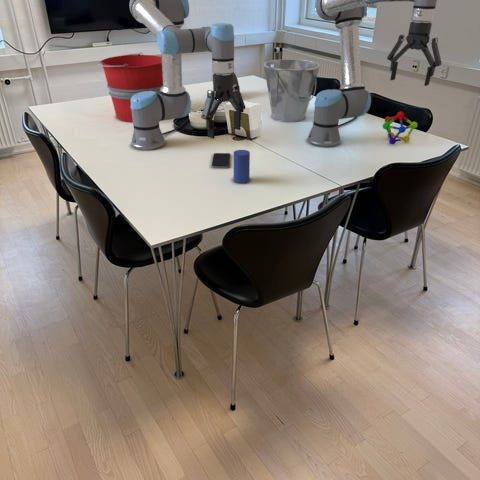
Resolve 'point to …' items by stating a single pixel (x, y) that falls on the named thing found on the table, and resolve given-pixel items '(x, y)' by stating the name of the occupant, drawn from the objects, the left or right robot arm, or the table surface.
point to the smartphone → (221, 160)
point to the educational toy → (398, 128)
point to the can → (241, 166)
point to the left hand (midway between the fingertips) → (224, 133)
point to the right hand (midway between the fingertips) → (409, 82)
